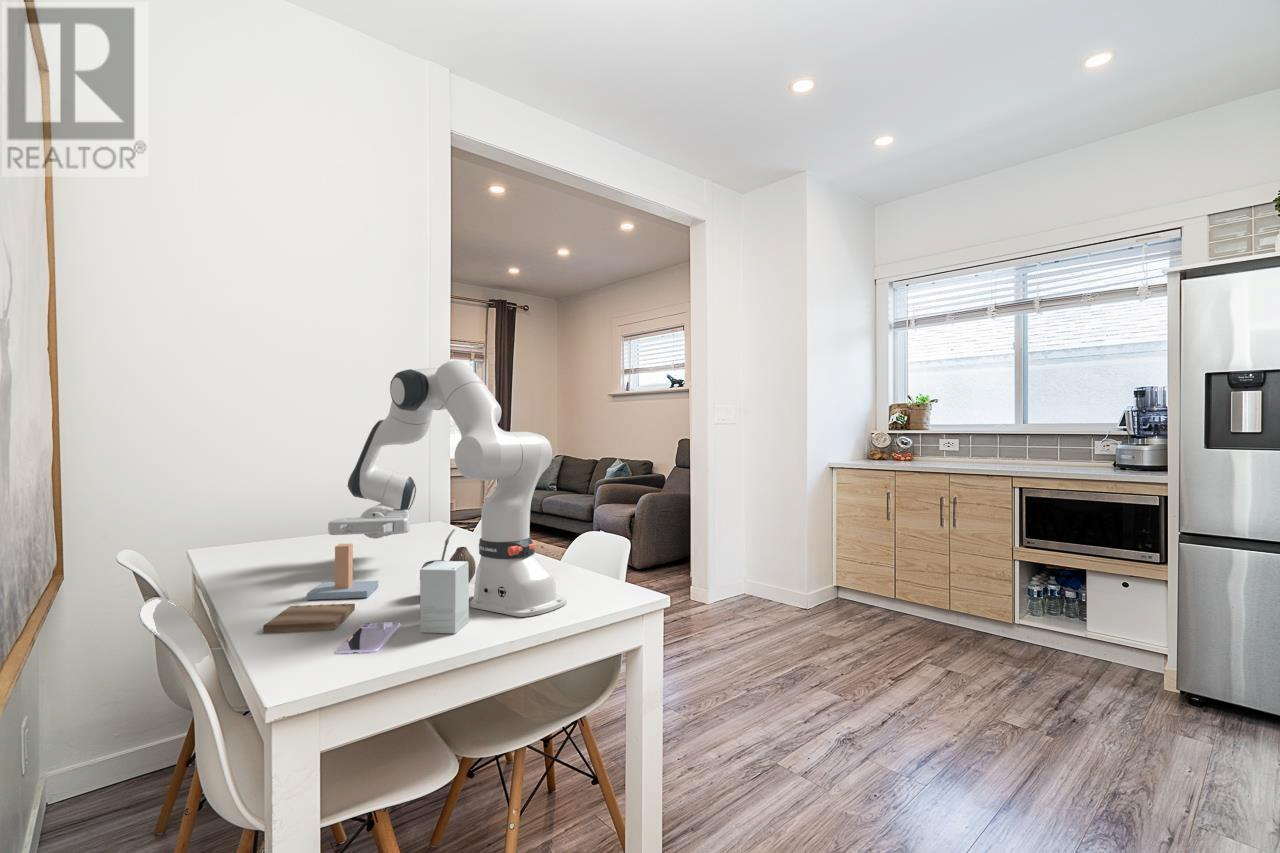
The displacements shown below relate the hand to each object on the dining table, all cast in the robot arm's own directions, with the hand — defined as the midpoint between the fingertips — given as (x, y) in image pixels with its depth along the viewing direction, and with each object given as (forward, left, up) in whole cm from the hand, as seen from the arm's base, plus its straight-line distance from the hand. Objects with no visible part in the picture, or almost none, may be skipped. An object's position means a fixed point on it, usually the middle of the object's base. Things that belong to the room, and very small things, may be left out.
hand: (361, 530), depth 151 cm
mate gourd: (-27, -5, -13) cm, 30 cm away
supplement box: (-47, +6, -13) cm, 49 cm away
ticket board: (-22, +21, -13) cm, 34 cm away
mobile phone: (-41, +18, -14) cm, 47 cm away
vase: (-21, -16, -13) cm, 29 cm away
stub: (-8, +8, -13) cm, 17 cm away
